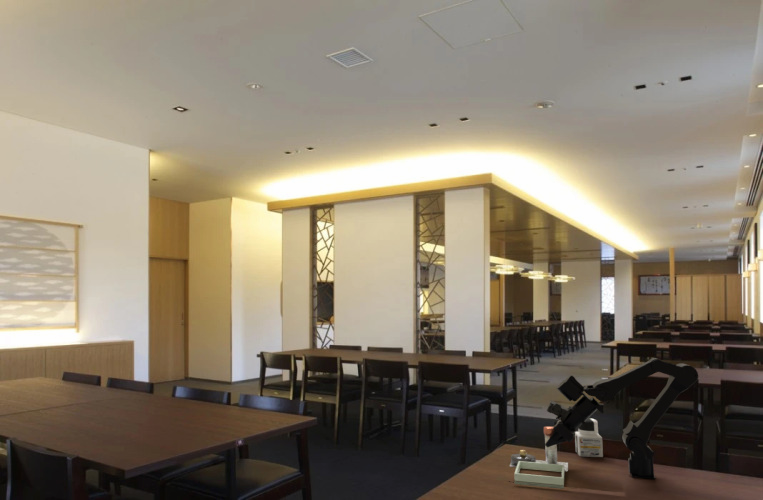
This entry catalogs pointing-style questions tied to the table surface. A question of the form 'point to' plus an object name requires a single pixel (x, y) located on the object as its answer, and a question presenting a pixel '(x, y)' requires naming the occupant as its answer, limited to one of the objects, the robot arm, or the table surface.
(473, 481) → the table surface
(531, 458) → the plate
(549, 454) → the glass spice jar
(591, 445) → the container
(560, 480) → the tray
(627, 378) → the robot arm
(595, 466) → the table surface
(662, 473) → the table surface
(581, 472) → the table surface
